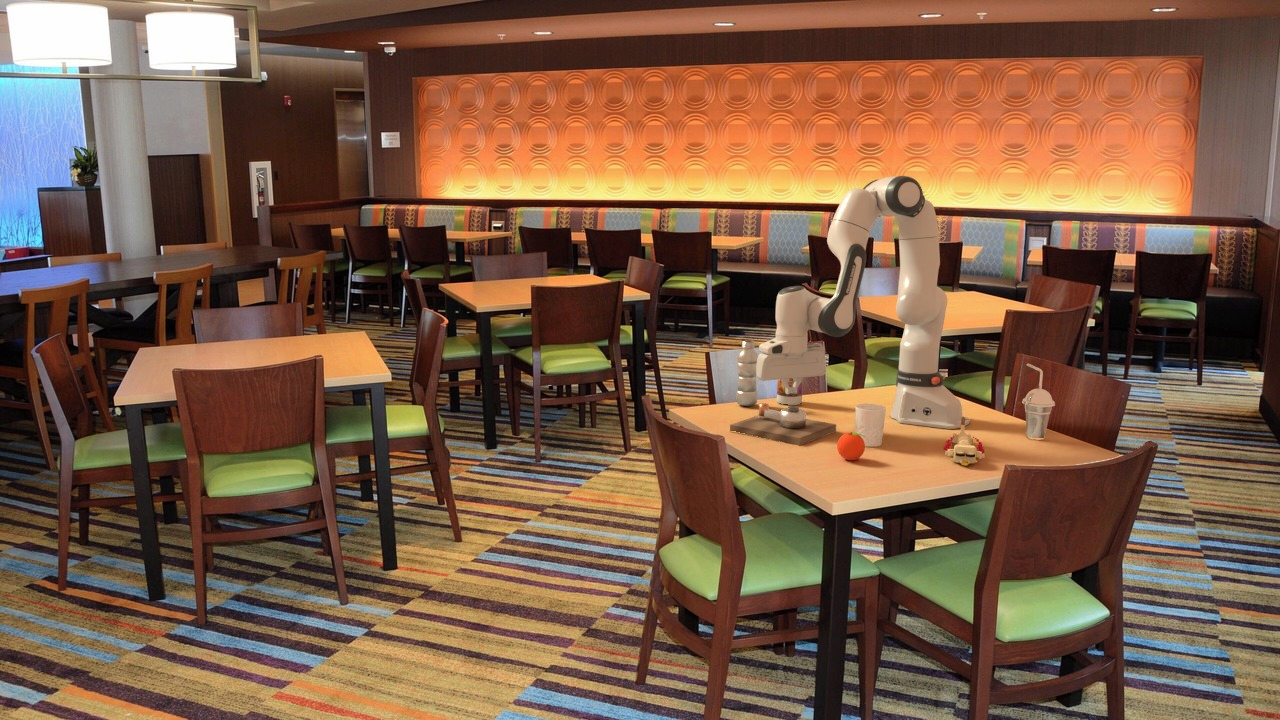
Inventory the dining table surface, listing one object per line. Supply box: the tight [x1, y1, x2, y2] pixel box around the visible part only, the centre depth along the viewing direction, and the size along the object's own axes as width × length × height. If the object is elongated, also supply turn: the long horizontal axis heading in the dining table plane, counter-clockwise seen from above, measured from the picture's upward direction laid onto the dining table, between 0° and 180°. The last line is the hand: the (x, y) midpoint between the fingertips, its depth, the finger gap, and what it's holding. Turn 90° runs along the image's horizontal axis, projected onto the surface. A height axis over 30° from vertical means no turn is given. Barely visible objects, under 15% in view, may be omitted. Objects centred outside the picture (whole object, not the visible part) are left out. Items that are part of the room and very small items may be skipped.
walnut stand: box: [729, 414, 837, 446], centre depth 291 cm, size 22×20×2 cm
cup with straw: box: [1021, 363, 1056, 439], centre depth 286 cm, size 8×9×20 cm
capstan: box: [758, 402, 807, 428], centre depth 292 cm, size 16×7×5 cm, turn 41°
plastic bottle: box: [735, 340, 759, 407], centre depth 320 cm, size 6×7×20 cm
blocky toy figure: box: [943, 416, 986, 466], centre depth 269 cm, size 10×9×25 cm
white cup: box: [854, 403, 887, 448], centre depth 279 cm, size 8×8×10 cm
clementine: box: [836, 432, 869, 461], centre depth 264 cm, size 8×7×7 cm
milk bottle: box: [776, 377, 804, 406], centre depth 325 cm, size 8×8×20 cm
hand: (791, 393), depth 295 cm, fingers closed
